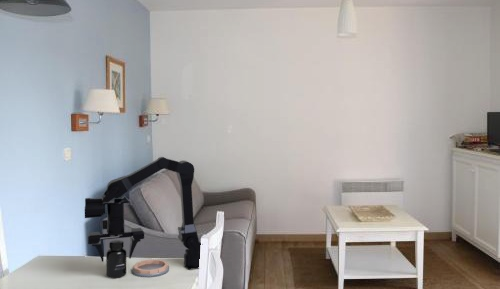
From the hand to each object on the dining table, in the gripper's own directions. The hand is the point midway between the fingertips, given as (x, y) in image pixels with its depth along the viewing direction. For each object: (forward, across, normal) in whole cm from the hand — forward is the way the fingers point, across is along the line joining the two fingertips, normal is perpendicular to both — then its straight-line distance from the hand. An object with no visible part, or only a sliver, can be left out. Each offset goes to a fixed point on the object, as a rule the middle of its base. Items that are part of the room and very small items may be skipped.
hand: (116, 259), depth 152 cm
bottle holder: (+6, -12, 0) cm, 13 cm away
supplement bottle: (+6, 0, 0) cm, 6 cm away
